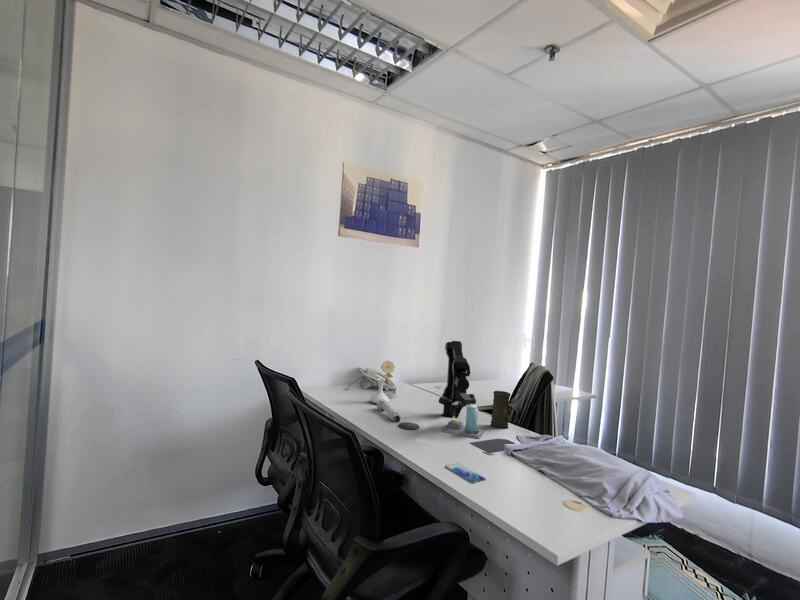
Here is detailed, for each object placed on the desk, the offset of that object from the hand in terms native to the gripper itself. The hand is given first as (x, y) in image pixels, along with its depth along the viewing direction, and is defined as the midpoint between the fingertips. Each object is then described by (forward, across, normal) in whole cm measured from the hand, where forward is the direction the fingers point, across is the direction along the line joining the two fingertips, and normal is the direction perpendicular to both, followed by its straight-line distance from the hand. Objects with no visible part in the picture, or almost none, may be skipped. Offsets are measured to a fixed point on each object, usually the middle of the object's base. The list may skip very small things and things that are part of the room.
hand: (456, 418), depth 204 cm
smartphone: (+6, -28, -45) cm, 53 cm away
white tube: (+6, -23, +28) cm, 37 cm away
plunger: (+4, 0, 0) cm, 4 cm away
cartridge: (+4, 0, -12) cm, 12 cm away
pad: (+5, -22, +8) cm, 24 cm away
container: (+5, +23, -5) cm, 25 cm away
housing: (+5, 0, -7) cm, 8 cm away
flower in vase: (+5, -16, +51) cm, 53 cm away
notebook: (+6, +2, -27) cm, 27 cm away
